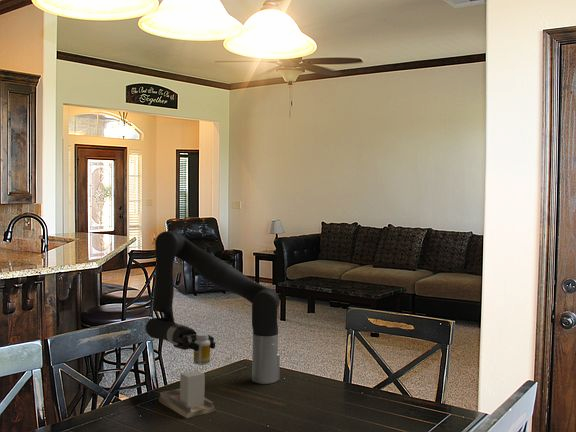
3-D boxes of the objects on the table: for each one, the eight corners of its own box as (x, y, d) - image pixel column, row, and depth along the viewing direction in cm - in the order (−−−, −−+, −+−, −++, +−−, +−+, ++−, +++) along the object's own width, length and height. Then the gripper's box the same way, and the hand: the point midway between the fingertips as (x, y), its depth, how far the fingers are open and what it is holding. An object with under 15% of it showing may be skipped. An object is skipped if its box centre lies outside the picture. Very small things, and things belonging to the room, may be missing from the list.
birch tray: (186, 396, 207) (186, 387, 207) (214, 411, 193) (214, 401, 193) (158, 401, 201) (159, 392, 201) (186, 418, 187) (186, 408, 187)
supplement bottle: (211, 361, 208) (212, 332, 208) (207, 365, 203) (208, 336, 202) (196, 360, 209) (196, 331, 208) (191, 364, 203) (192, 335, 203)
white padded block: (195, 400, 198) (196, 369, 198) (204, 405, 194) (204, 373, 194) (179, 404, 194) (179, 372, 194) (187, 409, 190) (187, 377, 190)
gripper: (163, 328, 212) (187, 338, 199) (199, 323, 221) (225, 332, 208) (162, 349, 212) (186, 361, 199) (199, 344, 221) (224, 354, 208)
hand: (206, 346), depth 203 cm, fingers closed on supplement bottle, 5 cm apart
